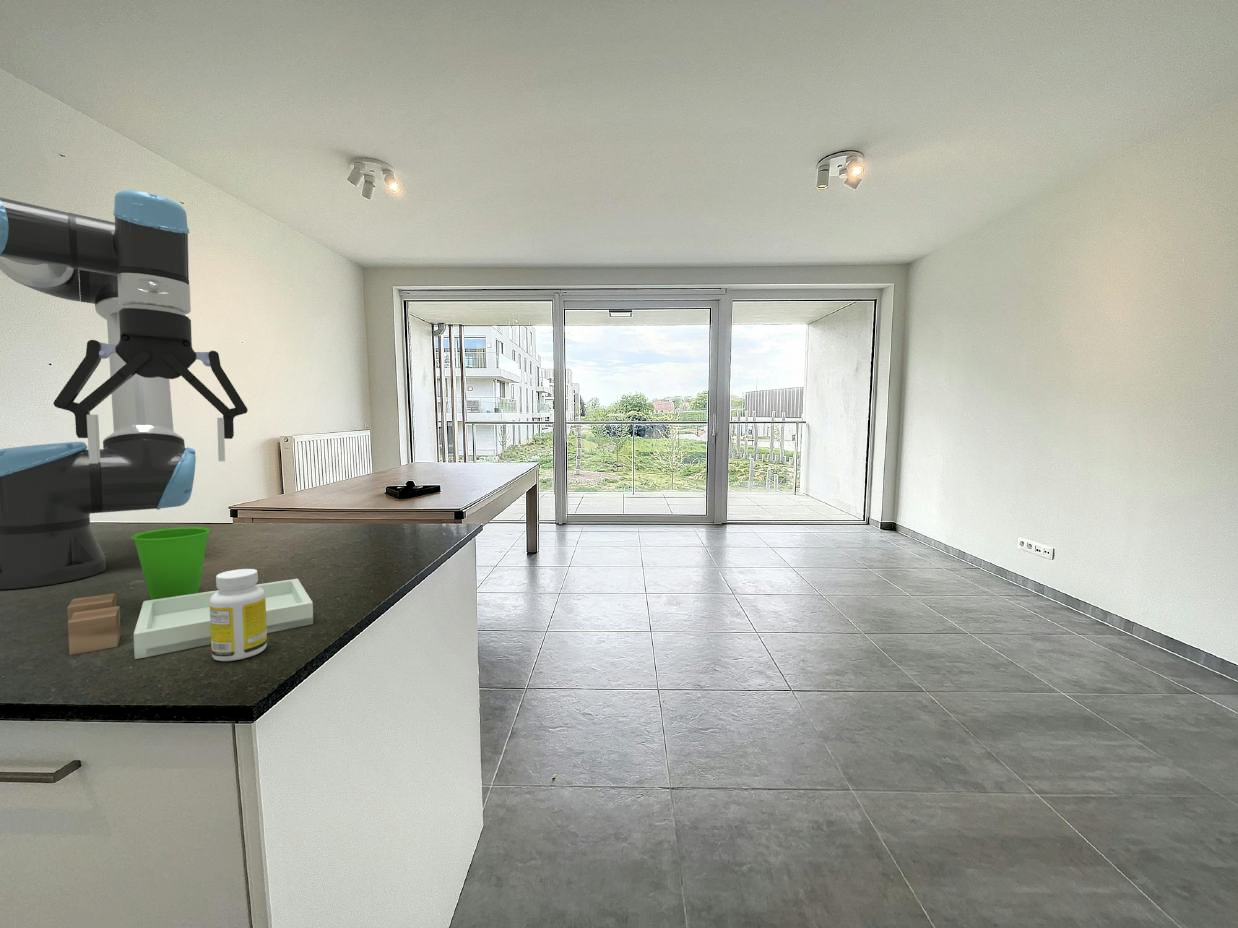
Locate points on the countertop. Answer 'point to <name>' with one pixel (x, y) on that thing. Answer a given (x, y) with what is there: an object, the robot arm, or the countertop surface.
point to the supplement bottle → (237, 616)
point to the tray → (189, 618)
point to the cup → (172, 560)
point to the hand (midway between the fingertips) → (162, 461)
